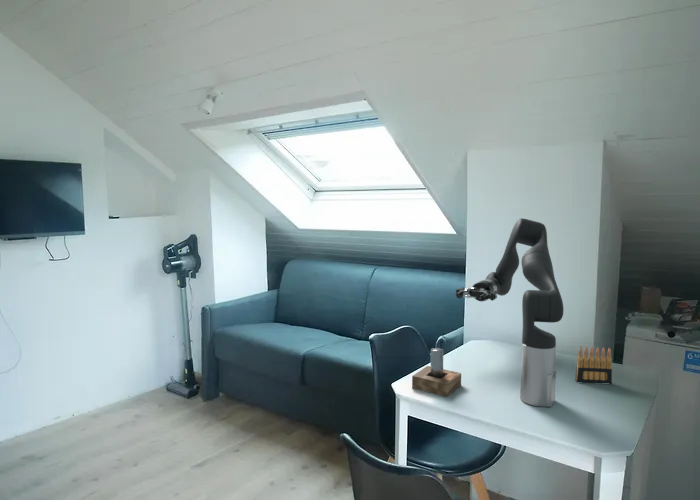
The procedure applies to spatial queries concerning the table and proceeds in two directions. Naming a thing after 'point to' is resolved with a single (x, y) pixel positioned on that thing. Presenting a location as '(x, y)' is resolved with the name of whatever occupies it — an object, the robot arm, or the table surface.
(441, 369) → the barrel peg
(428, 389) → the block
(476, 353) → the table surface
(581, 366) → the ammunition clip
